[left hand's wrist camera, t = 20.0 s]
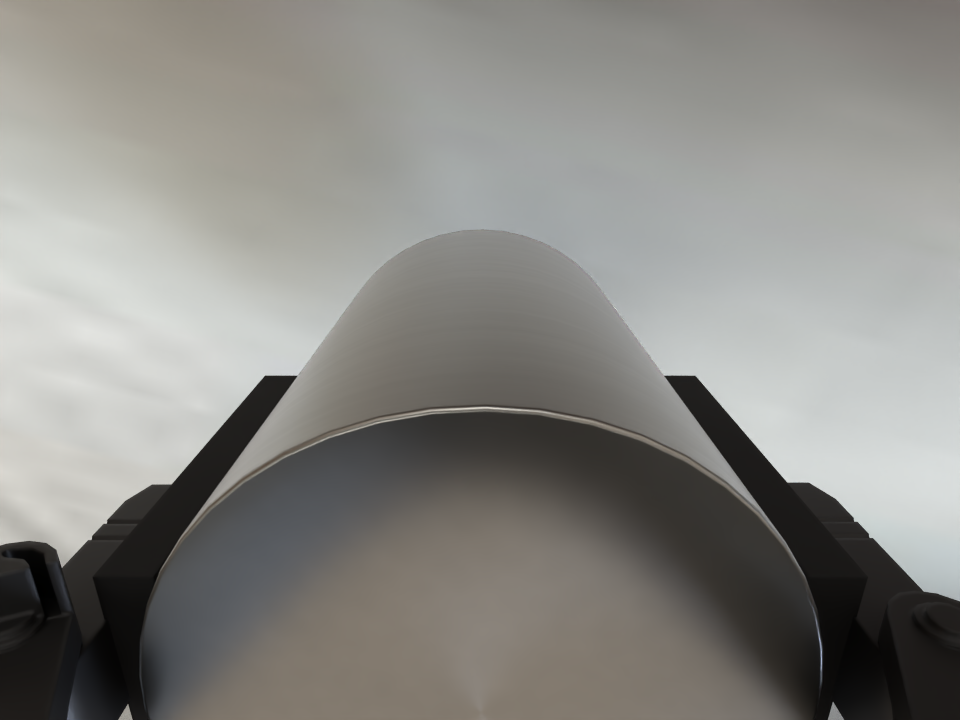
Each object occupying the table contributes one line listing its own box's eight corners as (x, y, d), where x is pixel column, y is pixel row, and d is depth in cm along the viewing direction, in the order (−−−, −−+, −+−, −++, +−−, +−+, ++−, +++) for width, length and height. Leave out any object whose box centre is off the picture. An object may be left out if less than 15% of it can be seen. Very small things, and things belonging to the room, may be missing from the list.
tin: (283, 395, 18) (22, 752, 8) (453, 163, 15) (402, 235, 5) (502, 539, 19) (525, 981, 9) (684, 350, 17) (973, 670, 7)
